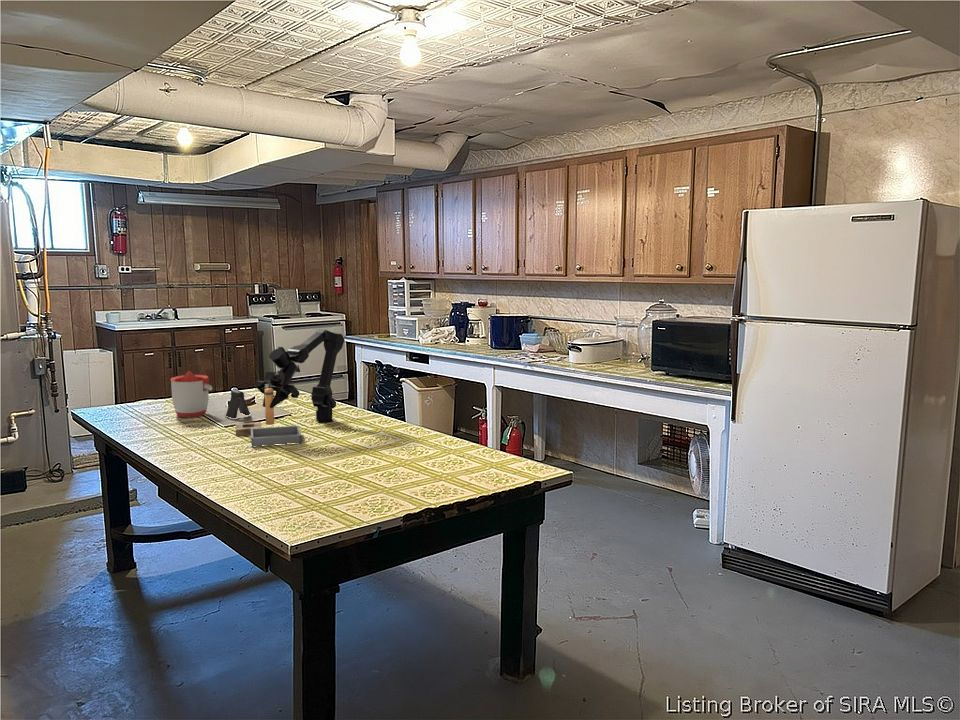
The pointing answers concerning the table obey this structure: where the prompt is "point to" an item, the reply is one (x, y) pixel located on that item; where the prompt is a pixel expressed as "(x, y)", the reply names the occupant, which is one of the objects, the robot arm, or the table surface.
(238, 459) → the table surface
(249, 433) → the socket block
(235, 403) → the dark grey a-frame piece
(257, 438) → the tray
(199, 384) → the citrus juicer
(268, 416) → the pin
